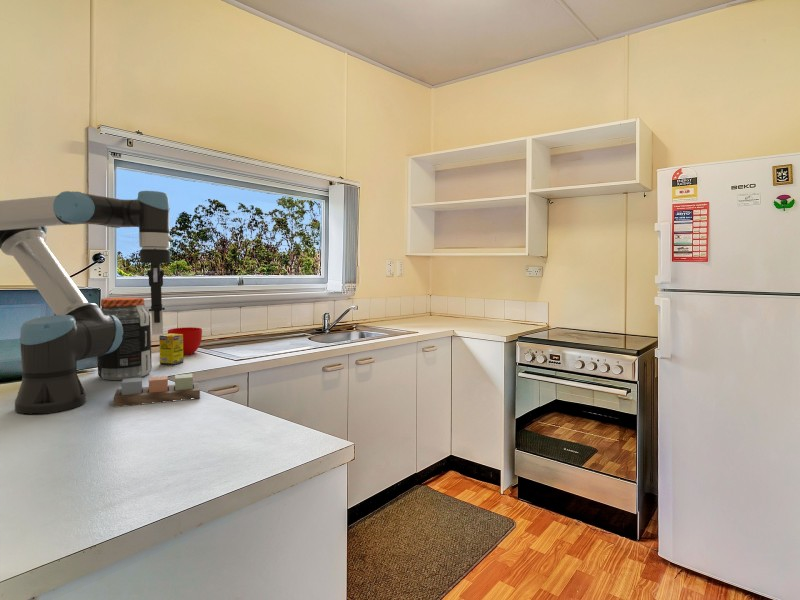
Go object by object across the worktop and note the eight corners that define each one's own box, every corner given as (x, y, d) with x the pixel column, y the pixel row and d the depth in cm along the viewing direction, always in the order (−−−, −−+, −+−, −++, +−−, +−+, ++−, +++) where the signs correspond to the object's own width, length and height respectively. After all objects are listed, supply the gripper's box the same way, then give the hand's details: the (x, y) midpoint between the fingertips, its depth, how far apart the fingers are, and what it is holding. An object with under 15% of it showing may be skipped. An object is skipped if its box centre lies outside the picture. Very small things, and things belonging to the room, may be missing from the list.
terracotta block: (167, 387, 139) (167, 375, 139) (167, 391, 135) (167, 379, 134) (149, 389, 137) (149, 377, 137) (148, 393, 133) (148, 380, 132)
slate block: (142, 389, 136) (141, 377, 136) (141, 394, 132) (140, 381, 132) (123, 391, 134) (123, 379, 134) (121, 395, 130) (121, 382, 130)
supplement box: (173, 365, 178) (173, 336, 177) (159, 364, 179) (158, 335, 178) (184, 362, 183) (183, 333, 183) (170, 361, 185) (169, 333, 184)
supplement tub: (162, 372, 166) (160, 297, 164) (122, 383, 152) (119, 301, 150) (128, 368, 172) (125, 296, 170) (86, 378, 157) (82, 299, 155)
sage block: (192, 385, 142) (192, 373, 141) (193, 389, 137) (192, 377, 137) (175, 386, 140) (174, 375, 139) (175, 390, 135) (174, 378, 135)
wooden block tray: (198, 390, 144) (198, 382, 144) (199, 398, 136) (199, 390, 136) (117, 398, 136) (117, 389, 135) (113, 407, 128) (113, 397, 127)
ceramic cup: (154, 357, 192) (153, 332, 191) (181, 349, 208) (180, 326, 208) (184, 359, 190) (183, 333, 189) (208, 351, 206) (208, 328, 205)
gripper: (170, 248, 129) (172, 336, 131) (170, 249, 140) (172, 330, 142) (138, 248, 125) (140, 338, 127) (140, 249, 137) (143, 331, 139)
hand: (157, 333), depth 135 cm, fingers closed
